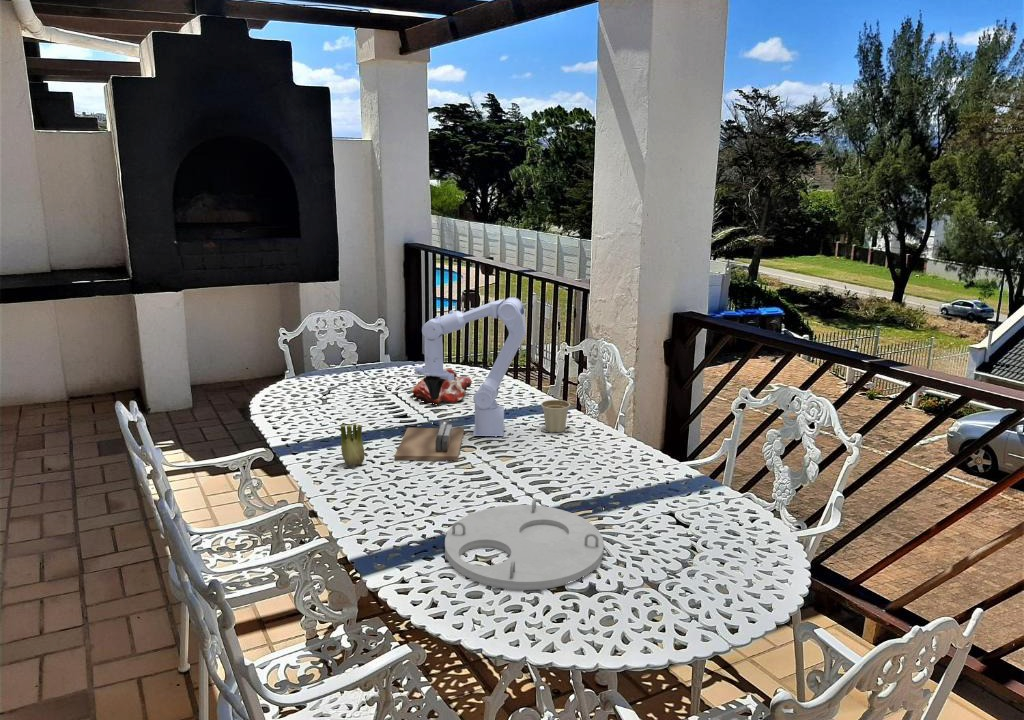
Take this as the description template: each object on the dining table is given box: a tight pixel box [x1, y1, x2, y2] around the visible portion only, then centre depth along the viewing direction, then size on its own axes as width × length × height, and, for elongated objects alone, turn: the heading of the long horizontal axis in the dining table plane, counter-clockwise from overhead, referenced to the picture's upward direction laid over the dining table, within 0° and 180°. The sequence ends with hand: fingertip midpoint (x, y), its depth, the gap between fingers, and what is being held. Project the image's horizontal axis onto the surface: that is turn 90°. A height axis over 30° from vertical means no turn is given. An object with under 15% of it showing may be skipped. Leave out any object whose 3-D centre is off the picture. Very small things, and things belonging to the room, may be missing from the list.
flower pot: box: [540, 399, 571, 433], centre depth 234 cm, size 9×9×9 cm
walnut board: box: [394, 427, 465, 462], centre depth 220 cm, size 18×24×2 cm
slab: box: [444, 498, 605, 591], centre depth 160 cm, size 35×35×5 cm
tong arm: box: [436, 419, 450, 452], centre depth 220 cm, size 19×3×3 cm, turn 0°
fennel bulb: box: [339, 423, 365, 467], centre depth 204 cm, size 6×5×12 cm
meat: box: [411, 367, 473, 405], centre depth 267 cm, size 21×21×10 cm
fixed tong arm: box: [442, 424, 453, 452], centre depth 218 cm, size 15×2×3 cm, turn 179°
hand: (434, 398), depth 232 cm, fingers closed
